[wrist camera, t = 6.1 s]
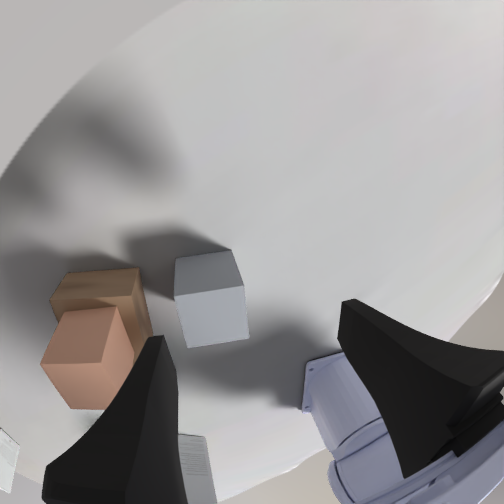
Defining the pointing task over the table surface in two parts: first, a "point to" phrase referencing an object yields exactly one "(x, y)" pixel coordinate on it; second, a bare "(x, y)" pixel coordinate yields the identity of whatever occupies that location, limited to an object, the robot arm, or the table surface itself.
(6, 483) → the small box
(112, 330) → the terracotta block
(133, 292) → the walnut block
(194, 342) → the slate block
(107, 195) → the table surface
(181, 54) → the table surface
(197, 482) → the skincare box
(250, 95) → the table surface
